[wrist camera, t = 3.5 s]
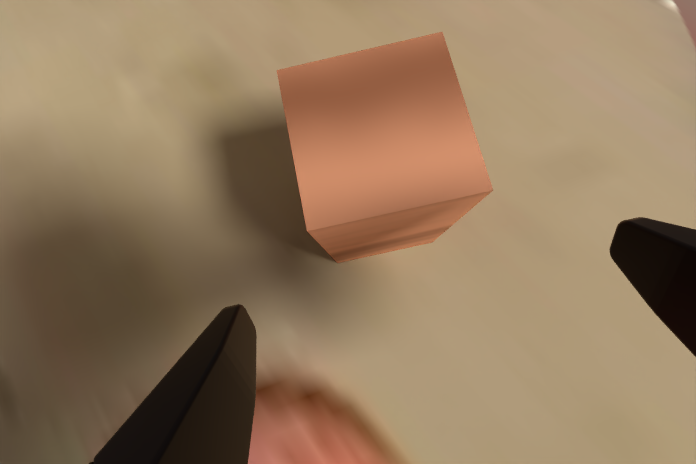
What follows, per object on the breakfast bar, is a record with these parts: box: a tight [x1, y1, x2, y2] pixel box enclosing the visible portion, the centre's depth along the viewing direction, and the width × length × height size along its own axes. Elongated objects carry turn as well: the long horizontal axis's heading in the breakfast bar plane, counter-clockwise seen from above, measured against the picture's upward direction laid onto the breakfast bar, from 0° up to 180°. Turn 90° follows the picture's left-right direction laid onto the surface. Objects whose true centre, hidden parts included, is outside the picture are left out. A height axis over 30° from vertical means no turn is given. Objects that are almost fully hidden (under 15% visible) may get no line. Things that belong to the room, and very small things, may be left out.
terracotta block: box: [277, 32, 493, 263], centre depth 16 cm, size 6×6×10 cm
